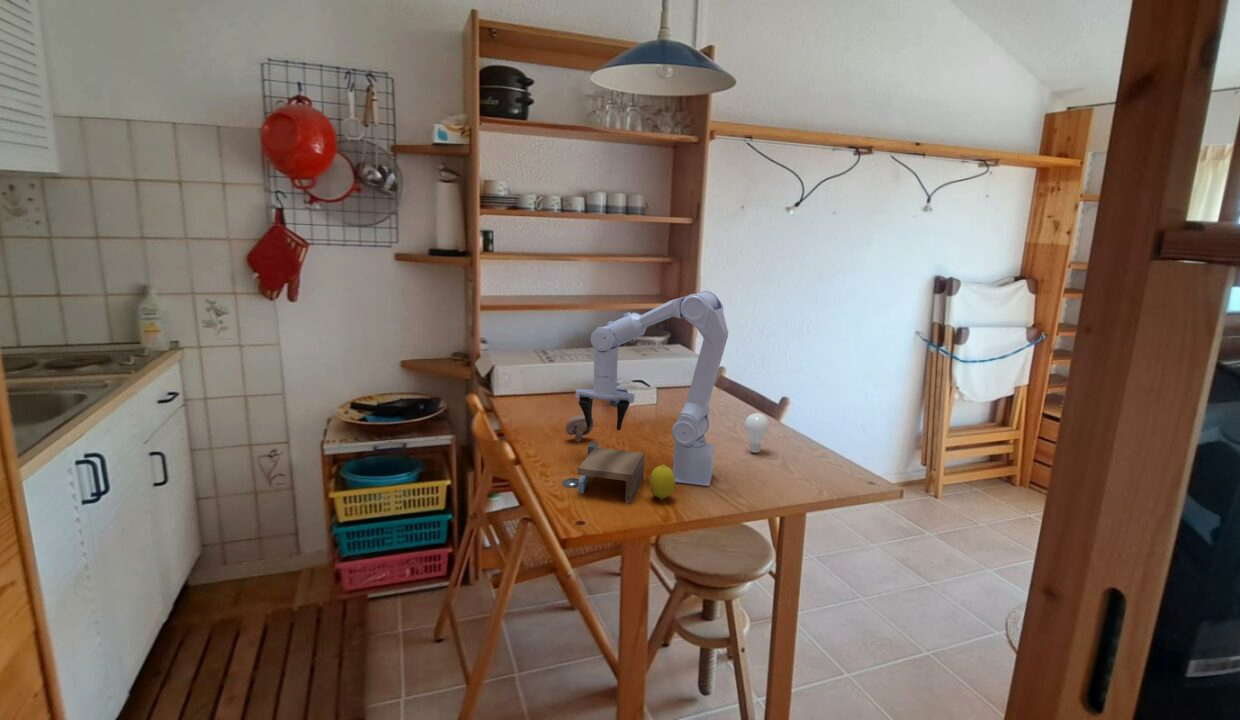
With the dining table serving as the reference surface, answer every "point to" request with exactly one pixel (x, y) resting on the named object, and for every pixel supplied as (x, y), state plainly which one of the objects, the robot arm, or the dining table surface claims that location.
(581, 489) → the scraper
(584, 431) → the mushroom
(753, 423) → the lightbulb
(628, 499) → the shelf
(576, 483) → the token
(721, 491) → the dining table surface
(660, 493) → the lemon
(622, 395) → the robot arm
